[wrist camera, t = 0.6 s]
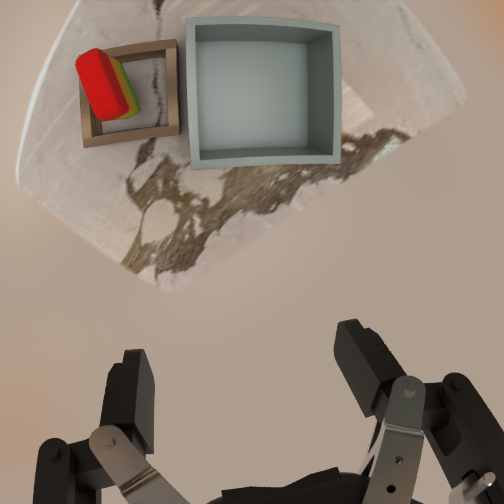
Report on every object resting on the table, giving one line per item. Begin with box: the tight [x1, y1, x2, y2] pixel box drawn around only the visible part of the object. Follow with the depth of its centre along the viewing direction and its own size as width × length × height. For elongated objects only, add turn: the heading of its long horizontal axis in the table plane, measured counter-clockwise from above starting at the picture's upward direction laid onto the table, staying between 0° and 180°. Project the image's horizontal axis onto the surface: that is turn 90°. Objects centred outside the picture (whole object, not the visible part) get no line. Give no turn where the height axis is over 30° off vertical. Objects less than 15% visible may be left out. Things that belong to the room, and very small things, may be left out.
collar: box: [79, 39, 181, 148], centre depth 28 cm, size 10×10×4 cm
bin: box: [186, 16, 342, 170], centre depth 28 cm, size 14×14×8 cm
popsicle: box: [75, 48, 140, 121], centre depth 23 cm, size 6×15×2 cm
